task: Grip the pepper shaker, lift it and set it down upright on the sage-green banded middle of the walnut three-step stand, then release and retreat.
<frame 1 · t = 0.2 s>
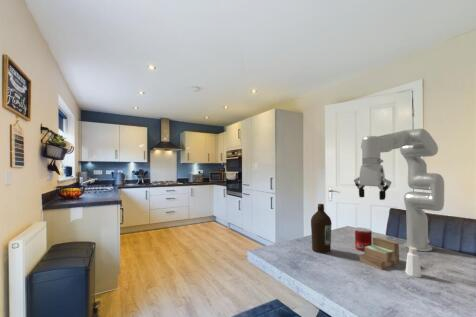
hand: (371, 198, 107), 31 cm above the table, fingers open, 9 cm apart
canned food: (363, 249, 125), on the table
olive oil: (321, 250, 123), on the table
pepper shaker: (413, 274, 96), on the table
stand: (379, 262, 108), on the table
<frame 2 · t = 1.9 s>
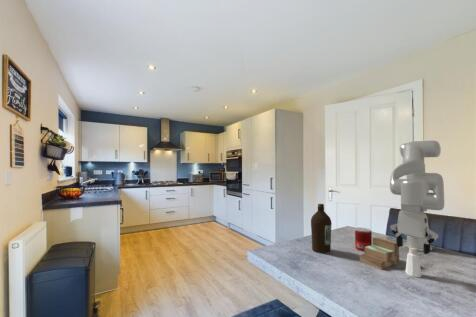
hand: (412, 249, 96), 10 cm above the table, fingers open, 9 cm apart
nothing on the table moved.
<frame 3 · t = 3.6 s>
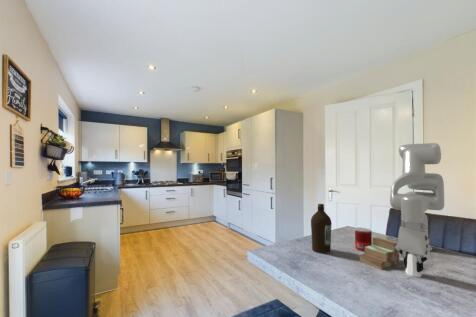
hand: (413, 268, 96), 2 cm above the table, fingers closed on pepper shaker, 3 cm apart
pepper shaker: (413, 274, 96), on the table, touching gripper
everything else where it was.
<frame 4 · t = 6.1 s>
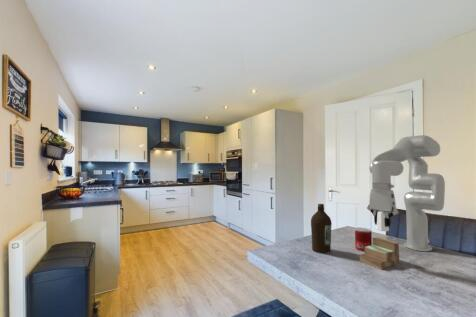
hand: (382, 224, 108), 18 cm above the table, fingers closed on pepper shaker, 3 cm apart
pepper shaker: (382, 230, 107), point 15 cm above the table, touching gripper
everything else where it was.
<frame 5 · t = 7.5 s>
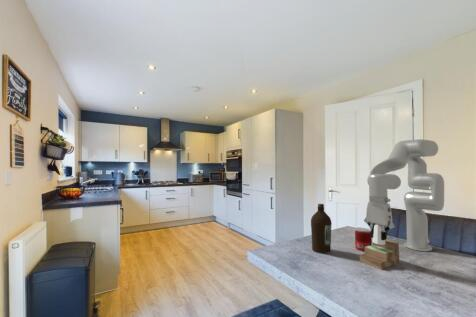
hand: (378, 238, 109), 11 cm above the table, fingers closed on pepper shaker, 3 cm apart
pepper shaker: (378, 243, 108), point 9 cm above the table, touching gripper
everything else where it was.
when the fingers open (10 cm above the table, at t = 8.5 s): pepper shaker drops 1 cm, resting on stand.
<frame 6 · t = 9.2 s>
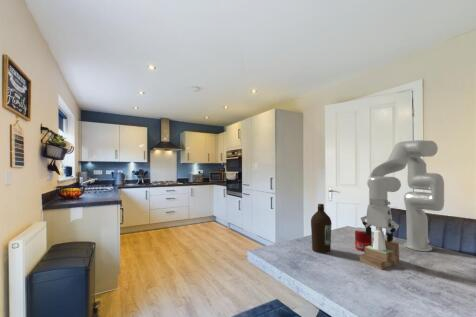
hand: (378, 238, 109), 11 cm above the table, fingers open, 9 cm apart
pepper shaker: (379, 249, 108), point 6 cm above the table, touching stand
everything else where it was.
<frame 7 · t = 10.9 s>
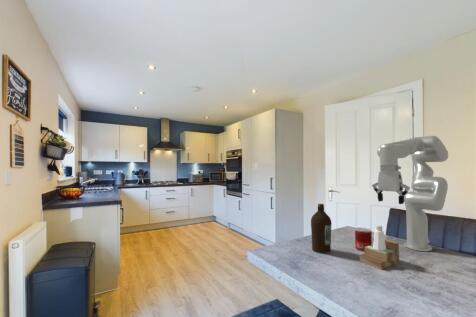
hand: (390, 202, 115), 28 cm above the table, fingers open, 9 cm apart
nothing on the table moved.
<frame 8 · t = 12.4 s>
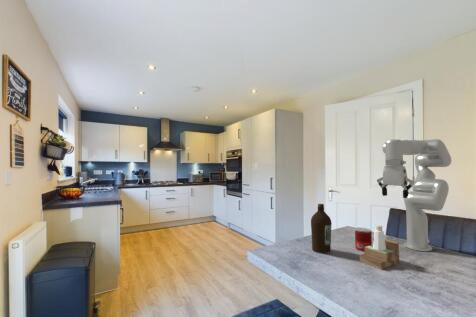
hand: (394, 196, 117), 30 cm above the table, fingers open, 9 cm apart
nothing on the table moved.
at the end: pepper shaker inside the target area on the stand (0.1 cm from its centre), point 6.1 cm above the stand's base; pepper shaker tilted 0°; the gripper is holding nothing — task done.
